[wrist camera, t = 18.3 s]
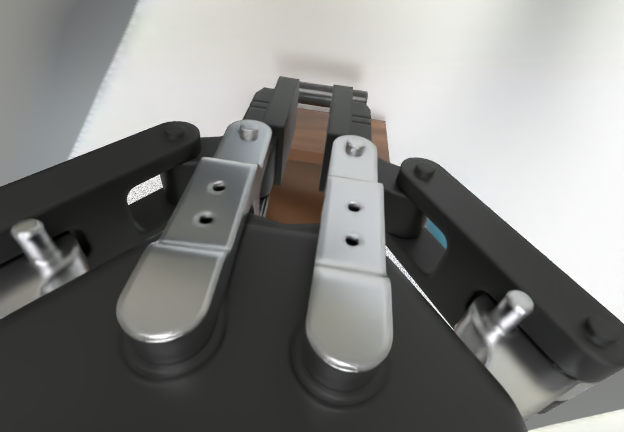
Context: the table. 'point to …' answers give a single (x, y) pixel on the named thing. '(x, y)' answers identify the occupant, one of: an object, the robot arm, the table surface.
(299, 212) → the drawer
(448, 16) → the table surface
